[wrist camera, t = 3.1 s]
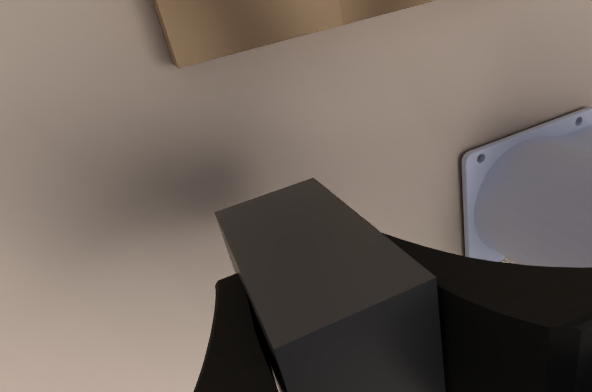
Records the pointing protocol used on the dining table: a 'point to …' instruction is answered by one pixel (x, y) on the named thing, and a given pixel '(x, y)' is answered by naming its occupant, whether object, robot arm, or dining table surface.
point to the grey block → (334, 295)
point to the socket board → (255, 22)
